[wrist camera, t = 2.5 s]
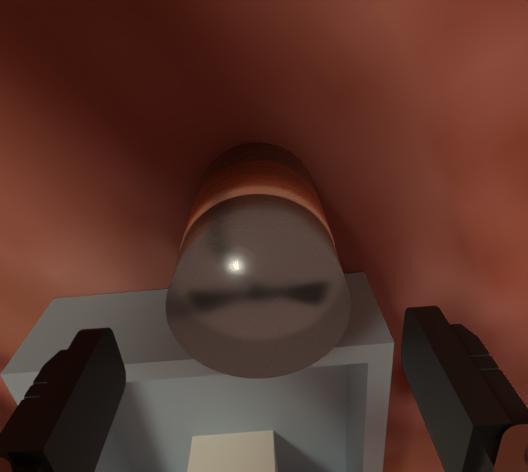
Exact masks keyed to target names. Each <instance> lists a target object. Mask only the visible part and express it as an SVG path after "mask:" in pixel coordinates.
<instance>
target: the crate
mask: <svg viewBox="0 0 528 472" xmlns="http://www.w3.org/2000/svg"><path fill="white" fill-rule="evenodd" d="M344 276H345V279H346V282H347V285H348V289H349V293H350V298H351V311H350V318H349V322H348V325H347V327H346V330H345V332H344V334H343V336H342V337H341V339H340V340H339V342H338V343H337V344H336V345H335V347H334V348H333V349H332V350H331V351H330V352H329V353H328V354H327V355H326V356H324V357H323V358H322V359H320V360H319V361H317V362H316V363H314V364H312V365H311V366H309V367H307V368H305V369H302V370H300V371H298V372H295V373H292V374H289V375H284V376H280V377H274V378H263V379H252V378H241V377H235V376H231V375H227V374H223V373H220V372H217V371H215V370H212V369H210V368H208V367H206V366H204V365H203V364H201V363H199V362H198V361H196V360H195V359H194V358H192V357H191V356H190V355H189V354H187V352H186V351H185V350H184V349H183V348H182V347H181V346H180V345H179V343H178V342H177V341H176V339H175V338H174V336H173V334H172V332H171V330H170V327H169V325H168V322H167V317H166V296H167V291H168V289H159V290H148V291H136V292H124V293H112V294H101V295H89V296H77V297H66V298H54V299H53V300H52V302H51V303H50V305H49V306H48V307H47V309H46V310H45V312H44V313H43V314H42V316H41V317H40V319H39V320H38V322H37V323H36V324H35V326H34V327H33V329H32V330H31V331H30V333H29V334H28V336H27V337H26V339H25V340H24V341H23V343H22V344H21V346H20V347H19V348H18V350H17V351H16V353H15V354H14V356H13V357H12V358H11V360H10V361H9V363H8V364H7V365H6V367H5V368H4V370H3V371H2V373H1V374H0V375H1V377H2V379H3V381H4V382H5V384H6V386H7V387H8V389H9V391H10V393H11V394H12V396H13V398H14V400H15V401H16V403H17V405H19V403H20V402H21V400H24V395H25V394H26V392H27V391H28V389H29V387H30V386H31V385H33V381H34V380H35V378H36V376H37V375H38V373H39V372H40V370H41V368H42V367H43V365H44V364H45V363H46V362H48V361H49V360H50V359H51V358H52V357H53V356H54V355H55V354H57V353H58V352H59V351H60V350H67V349H68V348H69V346H70V344H71V343H72V341H73V339H74V337H75V336H76V334H77V333H78V331H80V330H81V329H93V328H111V329H112V331H113V333H114V336H115V339H116V342H117V345H118V348H119V351H120V354H121V357H122V360H123V363H124V366H125V370H126V384H125V389H124V393H123V395H122V398H121V401H120V404H119V406H118V409H117V412H116V414H115V417H114V420H113V423H112V425H111V428H110V431H109V433H108V436H107V439H106V442H105V444H104V447H103V450H102V452H101V455H100V458H99V461H98V463H97V466H96V469H95V471H94V472H187V470H188V463H189V456H190V450H191V443H192V436H204V435H217V434H230V433H243V432H257V431H270V430H273V433H274V441H275V449H276V457H277V465H278V472H383V463H384V451H385V440H386V429H387V418H388V407H389V396H390V385H391V374H392V363H393V352H394V341H393V338H392V336H391V334H390V331H389V329H388V327H387V324H386V322H385V320H384V317H383V315H382V312H381V310H380V308H379V305H378V303H377V301H376V298H375V296H374V294H373V291H372V289H371V287H370V284H369V282H368V279H367V277H366V275H365V272H358V273H346V274H344Z"/></svg>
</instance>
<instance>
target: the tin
mask: <svg viewBox="0 0 528 472" xmlns="http://www.w3.org/2000/svg"><path fill="white" fill-rule="evenodd" d="M350 311H351V298H350V293H349V289H348V285H347V282H346V279H345V276H344V273H343V270H342V268H341V265H340V262H339V259H338V256H337V253H336V247H335V243H334V239H333V236H332V234H331V231H330V228H329V225H328V222H327V219H326V216H325V213H324V210H323V208H322V205H321V202H320V200H319V197H318V195H317V193H316V191H315V188H314V185H313V182H312V180H311V177H310V175H309V173H308V171H307V169H306V168H305V166H304V165H303V164H302V162H301V161H300V160H299V159H298V158H296V157H295V156H294V155H293V154H291V153H290V152H288V151H286V150H285V149H283V148H280V147H278V146H275V145H270V144H265V143H249V144H243V145H240V146H236V147H234V148H232V149H230V150H228V151H226V152H224V153H223V154H221V155H220V156H219V157H218V158H217V159H216V160H215V161H214V162H213V163H212V164H211V165H210V167H209V168H208V170H207V171H206V173H205V175H204V177H203V180H202V183H201V187H200V190H199V193H198V195H197V197H196V199H195V202H194V205H193V208H192V211H191V214H190V217H189V220H188V223H187V226H186V229H185V232H184V236H183V239H182V242H181V245H180V250H179V256H178V260H177V263H176V266H175V269H174V272H173V275H172V279H171V282H170V285H169V288H168V291H167V296H166V317H167V322H168V325H169V327H170V330H171V332H172V334H173V336H174V338H175V339H176V341H177V342H178V343H179V345H180V346H181V347H182V348H183V349H184V350H185V351H186V352H187V354H189V355H190V356H191V357H192V358H194V359H195V360H196V361H198V362H199V363H201V364H203V365H204V366H206V367H208V368H210V369H212V370H215V371H217V372H220V373H223V374H227V375H231V376H235V377H241V378H252V379H263V378H274V377H280V376H284V375H289V374H292V373H295V372H298V371H300V370H302V369H305V368H307V367H309V366H311V365H312V364H314V363H316V362H317V361H319V360H320V359H322V358H323V357H324V356H326V355H327V354H328V353H329V352H330V351H331V350H332V349H333V348H334V347H335V345H336V344H337V343H338V342H339V340H340V339H341V337H342V336H343V334H344V332H345V330H346V327H347V325H348V322H349V318H350Z"/></svg>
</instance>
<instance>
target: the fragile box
mask: <svg viewBox="0 0 528 472" xmlns="http://www.w3.org/2000/svg"><path fill="white" fill-rule="evenodd" d="M187 472H278V465H277V457H276V449H275V441H274V433H273V430H270V431H257V432H243V433H230V434H217V435H204V436H192V443H191V450H190V456H189V463H188V470H187Z"/></svg>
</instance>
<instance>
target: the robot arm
mask: <svg viewBox="0 0 528 472" xmlns="http://www.w3.org/2000/svg"><path fill="white" fill-rule="evenodd" d="M401 360H402V366H403V370H404V373H405V376H406V378H407V381H408V383H409V386H410V388H411V390H412V393H413V395H414V398H415V400H416V402H417V405H418V407H419V410H420V412H421V414H422V417H423V419H424V422H425V424H426V427H427V429H428V431H429V434H430V436H431V439H432V441H433V443H434V446H435V448H436V451H437V453H438V456H439V458H440V460H441V463H442V465H443V468H444V470H445V472H528V409H527V407H526V406H525V404H524V403H523V401H522V400H521V398H520V397H519V396H518V394H517V393H516V391H515V390H514V388H513V387H512V386H511V384H510V383H509V381H508V380H507V378H506V377H505V375H504V374H503V373H502V371H501V370H499V369H498V365H497V364H496V363H495V361H494V360H493V358H492V357H490V356H489V352H488V351H487V350H486V348H485V347H484V345H483V344H482V342H481V341H480V340H479V338H478V337H477V336H476V335H474V334H473V333H472V332H470V331H469V330H468V329H466V328H465V327H464V326H462V325H461V324H451V325H450V324H449V323H448V321H447V320H446V318H445V317H444V315H443V313H442V312H441V310H440V309H439V308H438V307H437V306H425V307H410V308H407V309H406V311H405V317H404V327H403V336H402V345H401ZM125 384H126V370H125V366H124V363H123V360H122V357H121V354H120V351H119V348H118V345H117V342H116V339H115V336H114V333H113V331H112V329H111V328H93V329H81V330H80V331H78V333H77V334H76V336H75V337H74V339H73V341H72V343H71V344H70V346H69V348H68V349H67V350H60V351H59V352H58V353H57V354H55V355H54V356H53V357H52V358H51V359H50V360H49V361H48V362H46V363H45V364H44V365H43V367H42V368H41V370H40V372H39V373H38V375H37V376H36V378H35V380H34V381H33V385H31V386H30V387H29V389H28V391H27V392H26V394H25V395H24V400H21V402H20V403H19V405H18V406H17V408H16V410H15V411H14V413H13V414H12V416H11V418H10V419H9V421H8V422H7V424H6V425H5V427H4V429H3V430H2V432H1V433H0V472H94V471H95V469H96V466H97V463H98V461H99V458H100V455H101V452H102V450H103V447H104V444H105V442H106V439H107V436H108V433H109V431H110V428H111V425H112V423H113V420H114V417H115V414H116V412H117V409H118V406H119V404H120V401H121V398H122V395H123V393H124V389H125Z"/></svg>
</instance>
